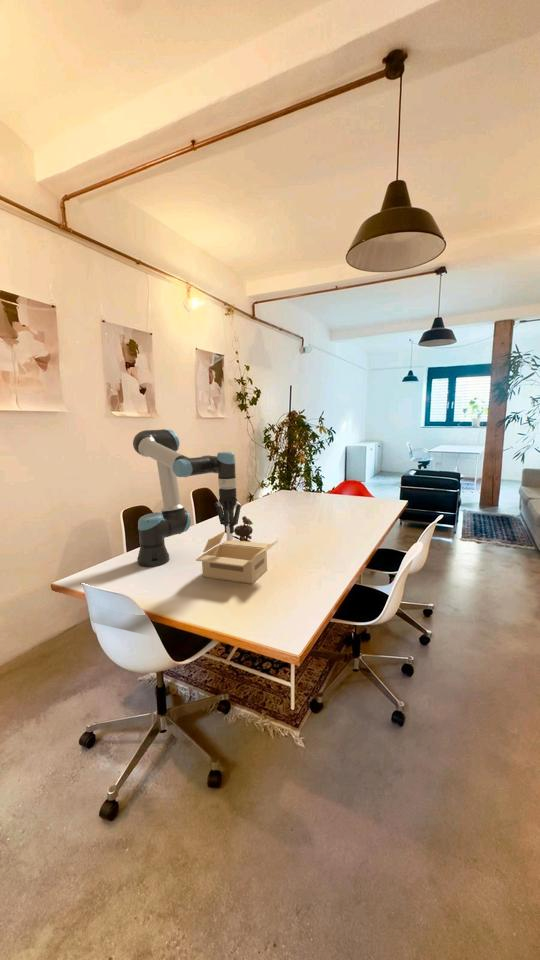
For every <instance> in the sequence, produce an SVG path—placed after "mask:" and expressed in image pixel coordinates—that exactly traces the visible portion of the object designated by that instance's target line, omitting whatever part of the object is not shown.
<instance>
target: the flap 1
mask: <svg viewBox="0 0 540 960" xmlns="http://www.w3.org/2000/svg"><path fill="white" fill-rule="evenodd" d="M225 534H226V533H225V529H224V530H222V531H220V532H219V533H217V534H215V535H213V536H211V537H210V538H208V540H207V543H206V545H205V546H204V549H203V553H206V552H208V551H209V550H211V549H213V548H214V547H216V546H218V545H219V544H221V541H222V540H223V538H224V535H225Z"/></svg>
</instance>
